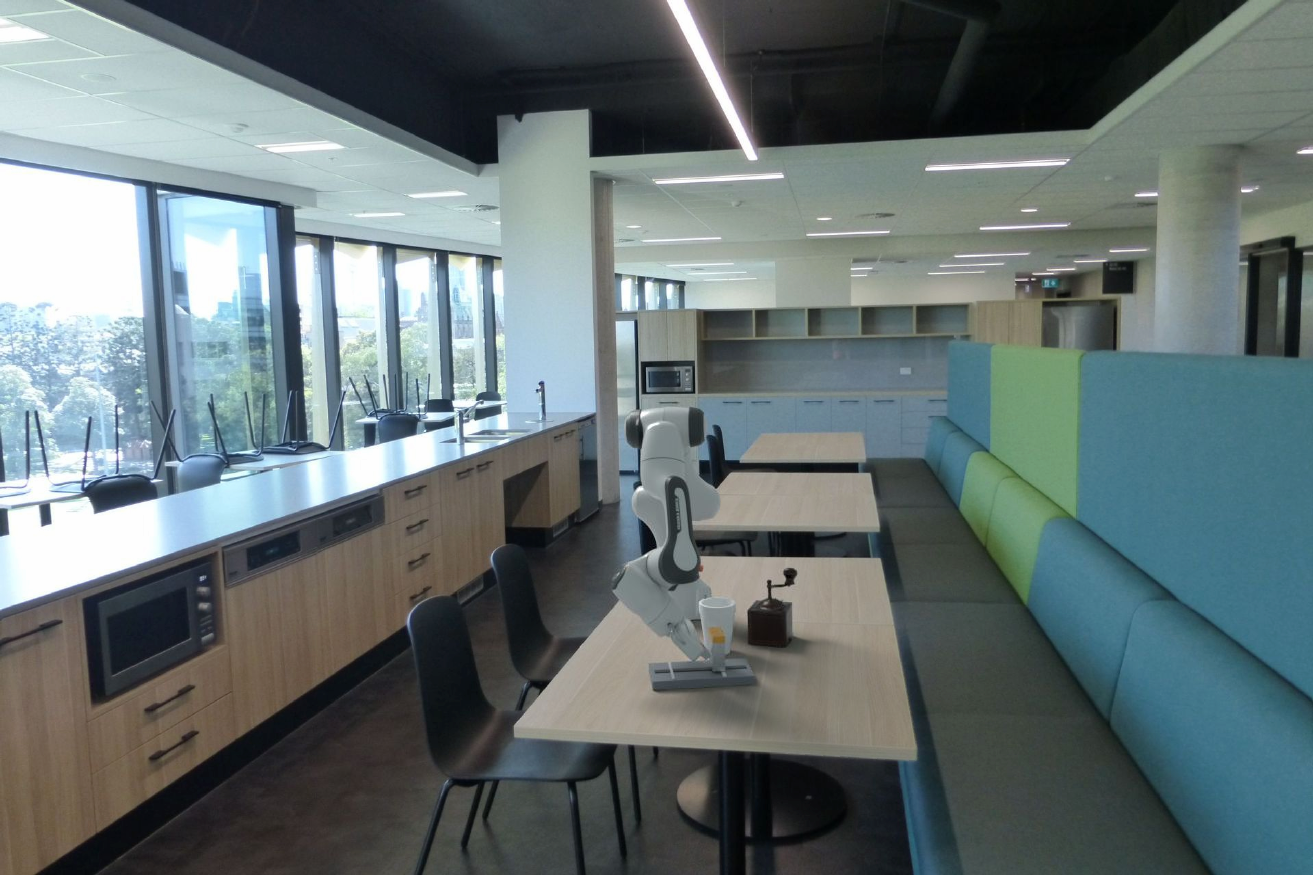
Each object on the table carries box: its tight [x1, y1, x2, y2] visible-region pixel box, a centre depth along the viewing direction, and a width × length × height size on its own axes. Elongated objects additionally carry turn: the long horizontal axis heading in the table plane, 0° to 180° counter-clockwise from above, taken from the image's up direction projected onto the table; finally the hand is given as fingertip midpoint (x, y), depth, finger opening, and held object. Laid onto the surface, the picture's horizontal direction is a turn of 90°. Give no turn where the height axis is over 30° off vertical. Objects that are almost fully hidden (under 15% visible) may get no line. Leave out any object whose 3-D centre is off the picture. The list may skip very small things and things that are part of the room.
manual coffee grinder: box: [746, 567, 798, 648], centre depth 243 cm, size 16×11×18 cm
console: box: [648, 657, 756, 691], centre depth 216 cm, size 24×12×2 cm, turn 95°
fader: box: [708, 627, 726, 672], centre depth 215 cm, size 3×7×9 cm, turn 5°
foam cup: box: [699, 596, 737, 656], centre depth 233 cm, size 10×9×13 cm
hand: (708, 655), depth 216 cm, fingers closed, pressing on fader
